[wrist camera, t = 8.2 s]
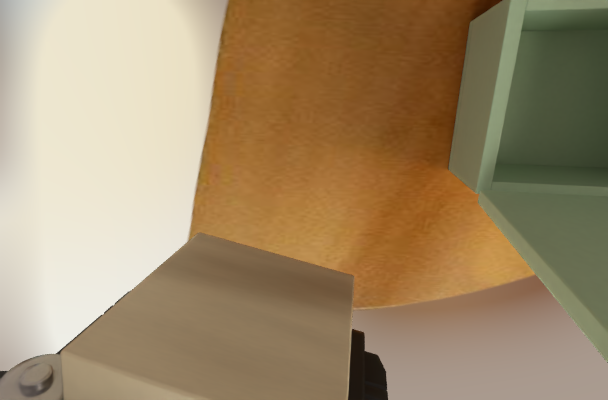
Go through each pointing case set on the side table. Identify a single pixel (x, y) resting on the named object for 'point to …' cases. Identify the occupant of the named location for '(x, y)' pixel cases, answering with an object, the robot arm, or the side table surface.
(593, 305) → the lid
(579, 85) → the chest
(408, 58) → the side table surface
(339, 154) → the side table surface
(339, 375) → the block
